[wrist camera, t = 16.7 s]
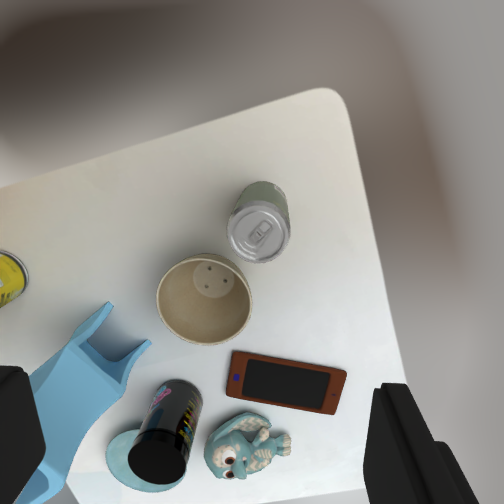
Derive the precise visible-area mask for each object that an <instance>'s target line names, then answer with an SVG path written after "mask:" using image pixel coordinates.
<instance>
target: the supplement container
mask: <svg viewBox="0 0 504 504" xmlns="http://www.w3.org/2000/svg"><path fill="white" fill-rule="evenodd" d="M202 406H203V401H202V397H201V394H200V392H199V391H198V390H197V389H196V388H195V387H194V386H193V385H191V384H190V383H188V382H185V381H179V380H175V381H170V382H167V383H165V384H163V385H162V386H161V387H160V388H159V389H158V390H157V392H156V394H155V396H154V399H153V401H152V403H151V405H150V407H149V410H148V412H147V414H146V416H145V419H144V421H143V423H142V425H141V427H140V430H139V432H138V434H137V436H136V438H135V439H134V442H133V444H132V447H131V449H130V451H129V453H128V464H129V467H130V469H131V470H132V472H133V473H134V474H135V475H136V476H137V477H139V478H140V479H142V480H144V481H146V482H148V483H152V484H157V485H167V484H171V483H174V482H176V481H178V480H179V479H180V478H181V477H182V476H183V475H184V473H185V471H186V467H187V463H188V460H189V456H190V451H191V447H192V443H193V440H194V436H195V432H196V428H197V425H198V421H199V417H200V413H201V410H202Z"/></svg>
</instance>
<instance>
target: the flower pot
mask: <svg viewBox="0 0 504 504" xmlns="http://www.w3.org/2000/svg"><path fill="white" fill-rule="evenodd" d="M208 268H210V270H209V269H208ZM224 279H226V280H224ZM207 286H208V288H207ZM156 305H157V310H158V313H159V315H160V317H161V319H162V321H163V323H164V324H165V326H166V327H167V328H168V329H169V330H170V331H171V332H172V333H173V334H175V335H176V336H177V337H179V338H181V339H183V340H185V341H187V342H190V343H193V344H197V345H217V344H221V343H224V342H227V341H229V340H231V339H233V338H234V337H236V336H237V335H238V334H239V333H240V332H241V331H242V330H243V329H244V328H245V326H246V325H247V323H248V321H249V319H250V316H251V311H252V297H251V292H250V288H249V285H248V283H247V280H246V278H245V276H244V275H243V273H242V272H241V270H240V269H239V268H238V267H237V266H236V265H235V264H234V263H233V262H231V261H230V260H228V259H226V258H224V257H222V256H219V255H214V254H200V255H195V256H192V257H189V258H186V259H184V260H182V261H180V262H179V263H177V264H176V265H174V266H173V267H172V268H171V269H169V270H168V271H167V272H166V273H165V275H164V276H163V277H162V279H161V281H160V283H159V285H158V288H157V293H156Z"/></svg>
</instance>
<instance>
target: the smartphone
mask: <svg viewBox="0 0 504 504" xmlns="http://www.w3.org/2000/svg"><path fill="white" fill-rule="evenodd" d="M346 377H347V373H346V371H344V370H339V369H334V368H329V367H324V366H318V365H313V364H307V363H301V362H296V361H290V360H285V359H279V358H273V357H268V356H262V355H257V354H251V353H245V352H238V351H235V352H233V354H232V359H231V365H230V370H229V376H228V382H227V388H226V395H227V396H229V397H233V398H238V399H243V400H248V401H254V402H259V403H265V404H271V405H276V406H282V407H287V408H293V409H298V410H304V411H310V412H315V413H321V414H328V415H334V414H335V413H336V409H337V406H338V403H339V400H340V396H341V393H342V390H343V387H344V383H345V380H346Z"/></svg>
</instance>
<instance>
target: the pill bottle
mask: <svg viewBox="0 0 504 504" xmlns="http://www.w3.org/2000/svg"><path fill="white" fill-rule="evenodd" d="M27 284H28V274H27V271H26V269H25V267H24V265H23V264H22V263H21V261H20V260H19V259H17V258H16V257H15V256H13V255H12V254H9V253H7V252H4V251H0V308H1V307H3V306H4V305H6V304H7V303H9V302H10V301H12V300H13V299H15V298H16V297H18V296H19V295H20V294H22V293H23V292H24V290H25V289H26V287H27Z"/></svg>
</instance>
